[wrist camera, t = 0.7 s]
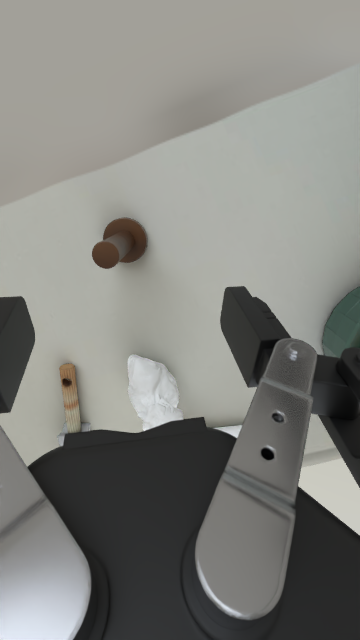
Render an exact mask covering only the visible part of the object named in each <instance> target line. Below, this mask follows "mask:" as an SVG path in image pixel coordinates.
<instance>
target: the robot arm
mask: <svg viewBox="0 0 360 640" xmlns="http://www.w3.org/2000/svg"><path fill="white" fill-rule="evenodd" d="M220 323H221V329H222V332H223V334H224V336H225V339H226V341H227V343H228V345H229V347H230V349H231V352H232V354H233V356H234V358H235V360H236V363H237V365H238V367H239V369H240V371H241V373H242V376H243V378H244V380H245V382H246V384H247V387H248V388H250V387H257V389H256V392H255V395H254V397H253V400H252V402H251V405H250V407H249V410H248V412H247V415H246V417H245V420H244V422H243V425H242V427H241V430H240V432H239V435H238V437H237V438H236V437H235V436H233V435H231V434H229V433H227V432H224V431H221V430H218V429H214V428H208V427H206V424H205V420H204V417H200V418H191V419H183V420H175V421H170V422H167V423H165V424H162V425H159V426H156V427H154V428H151V429H148V430H146V431H143V432H140V433H128V432H119V431H110V430H93V431H85V432H76V433H68V434H65V437H64V443H63V446H61V447H58V448H56V449H54V450H52V451H50V452H48V453H46V454H44V455H43V456H41V457H40V458H38V459H37V460H36V461H34V462H33V463H31V464H30V465H29V466H28V467H27V466H26V465H25V463H24V462H23V460H22V458H21V457H20V455H19V454H18V452H17V451H16V449H15V447H14V446H13V444H12V443H11V441H10V440H9V438H8V437H7V435H6V433H5V432H4V430H3V429H2V427H1V426H0V640H360V535H358V534H357V533H356V532H354V531H353V530H352V529H351V528H350V527H348V526H347V525H346V524H345V523H343V522H342V521H341V520H339V519H338V518H337V517H336V516H335V515H333V514H332V513H331V512H330V511H328V510H327V509H326V508H325V507H323V506H322V505H321V504H319V503H318V502H317V501H316V500H315V499H313V498H312V497H311V496H310V495H308V494H307V493H306V492H304V491H303V490H302V489H301V488H300V487H298V482H299V477H300V471H301V466H302V460H303V454H304V449H305V443H306V438H307V432H308V427H309V421H310V415H311V413H312V414H318V416H319V418H320V419H321V421H322V423H323V425H324V426H325V428H326V430H327V432H328V433H329V435H330V437H331V439H332V440H333V442H334V444H335V446H336V447H337V449H338V451H339V453H340V454H341V456H342V458H343V460H344V461H345V463H346V465H347V467H348V468H349V470H350V471H351V474H352V475H353V477H354V479H355V480H356V482H357V484H358V486H359V488H360V348H356V347H351V348H346V349H344V350H343V352H342V354H341V356H340V358H337V357H330V356H323V355H318V354H317V353H316V351H315V350H314V349H313V348H312V347H311V346H310V345H309V344H307V343H306V342H303V341H301V340H298V339H294V338H291V336H290V335H289V334H288V332H287V331H286V330H285V328H284V327H283V326H282V324H281V323H280V322H279V320H278V319H276V316H275V315H274V314H273V312H271V310H270V308H269V307H268V306H267V304H266V303H265V302H263V301H262V300H260V299H259V298H257V297H252V296H251V295H250V293H249V292H248V290H247V289H246V288H245V287H244V286H240V287H227V288H226V289H225V292H224V299H223V305H222V311H221V318H220ZM34 343H35V331H34V327H33V324H32V321H31V318H30V315H29V312H28V309H27V305H26V302H25V300H24V298H23V297H21V296H18V297H0V413H8V412H11V409H12V406H13V403H14V400H15V397H16V395H17V392H18V389H19V386H20V383H21V380H22V378H23V375H24V372H25V369H26V366H27V363H28V361H29V358H30V355H31V352H32V349H33V346H34Z"/></svg>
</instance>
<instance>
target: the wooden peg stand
mask: <svg viewBox="0 0 360 640" xmlns="http://www.w3.org/2000/svg"><path fill="white" fill-rule="evenodd" d="M146 247H147V234H146V232H145V230H144V228H143V227H142V225H141V224H140V223H138V222H137V221H136V220H133V219H131V218H119V219H116V220H114V221H112V222H111V223H110V224H109V225H108V226H107V227H106V229H105V231H104V235H103V241H101V242H99V243H97V244H96V245H95V246H94V248H93V251H92V257H93V260H94V262H95V263H96V264H97V265H98V266H100V267H102V268H105V269H109V268H112V267H114V266H115V265H116V264H117V263H118V262H124V263H129V262H133V261H136V260H137V259H139V258H140V257H141V256H142V255H143V253H144V252H145V250H146Z"/></svg>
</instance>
